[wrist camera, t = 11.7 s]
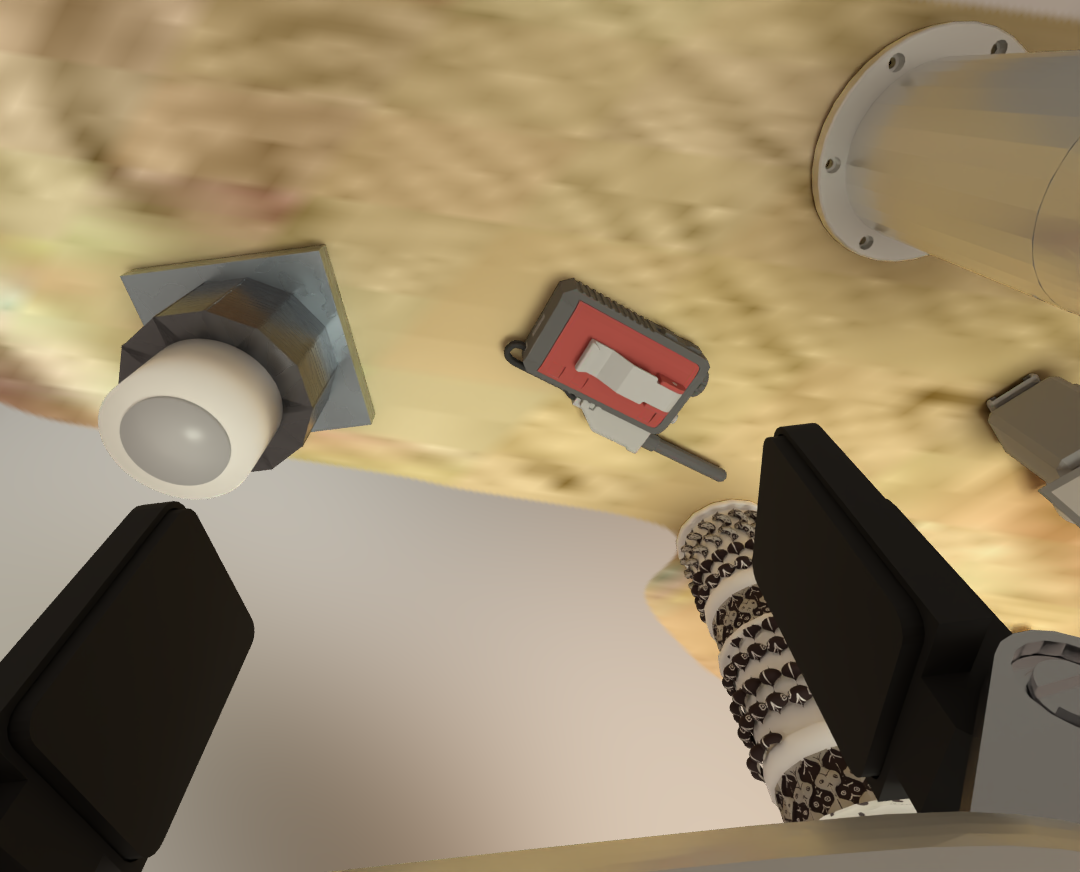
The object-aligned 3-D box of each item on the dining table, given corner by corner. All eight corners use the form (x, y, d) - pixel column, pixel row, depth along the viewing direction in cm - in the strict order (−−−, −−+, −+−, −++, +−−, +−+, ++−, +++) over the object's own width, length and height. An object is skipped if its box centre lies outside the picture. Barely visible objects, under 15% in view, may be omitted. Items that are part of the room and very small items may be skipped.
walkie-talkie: (488, 370, 42) (711, 477, 48) (486, 399, 38) (728, 512, 44) (550, 260, 38) (783, 391, 44) (555, 279, 34) (810, 420, 40)
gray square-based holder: (325, 244, 36) (287, 280, 30) (375, 414, 43) (352, 473, 36) (133, 269, 37) (54, 309, 30) (210, 434, 43) (159, 497, 36)
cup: (274, 311, 34) (218, 368, 27) (313, 420, 38) (272, 493, 31) (150, 327, 34) (64, 387, 27) (201, 434, 38) (137, 510, 31)
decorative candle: (716, 593, 54) (855, 932, 33) (649, 543, 50) (755, 886, 29) (800, 534, 51) (1014, 866, 29) (734, 476, 47) (924, 806, 26)
